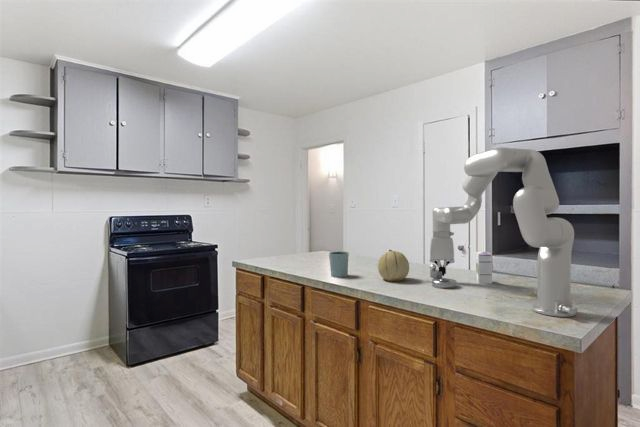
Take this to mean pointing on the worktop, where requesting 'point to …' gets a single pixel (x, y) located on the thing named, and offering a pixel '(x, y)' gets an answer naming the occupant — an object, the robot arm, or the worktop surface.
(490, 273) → the syrup box
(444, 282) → the silver door handle
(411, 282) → the worktop surface
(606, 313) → the worktop surface
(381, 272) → the cantaloupe
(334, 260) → the drinking glass
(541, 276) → the robot arm
